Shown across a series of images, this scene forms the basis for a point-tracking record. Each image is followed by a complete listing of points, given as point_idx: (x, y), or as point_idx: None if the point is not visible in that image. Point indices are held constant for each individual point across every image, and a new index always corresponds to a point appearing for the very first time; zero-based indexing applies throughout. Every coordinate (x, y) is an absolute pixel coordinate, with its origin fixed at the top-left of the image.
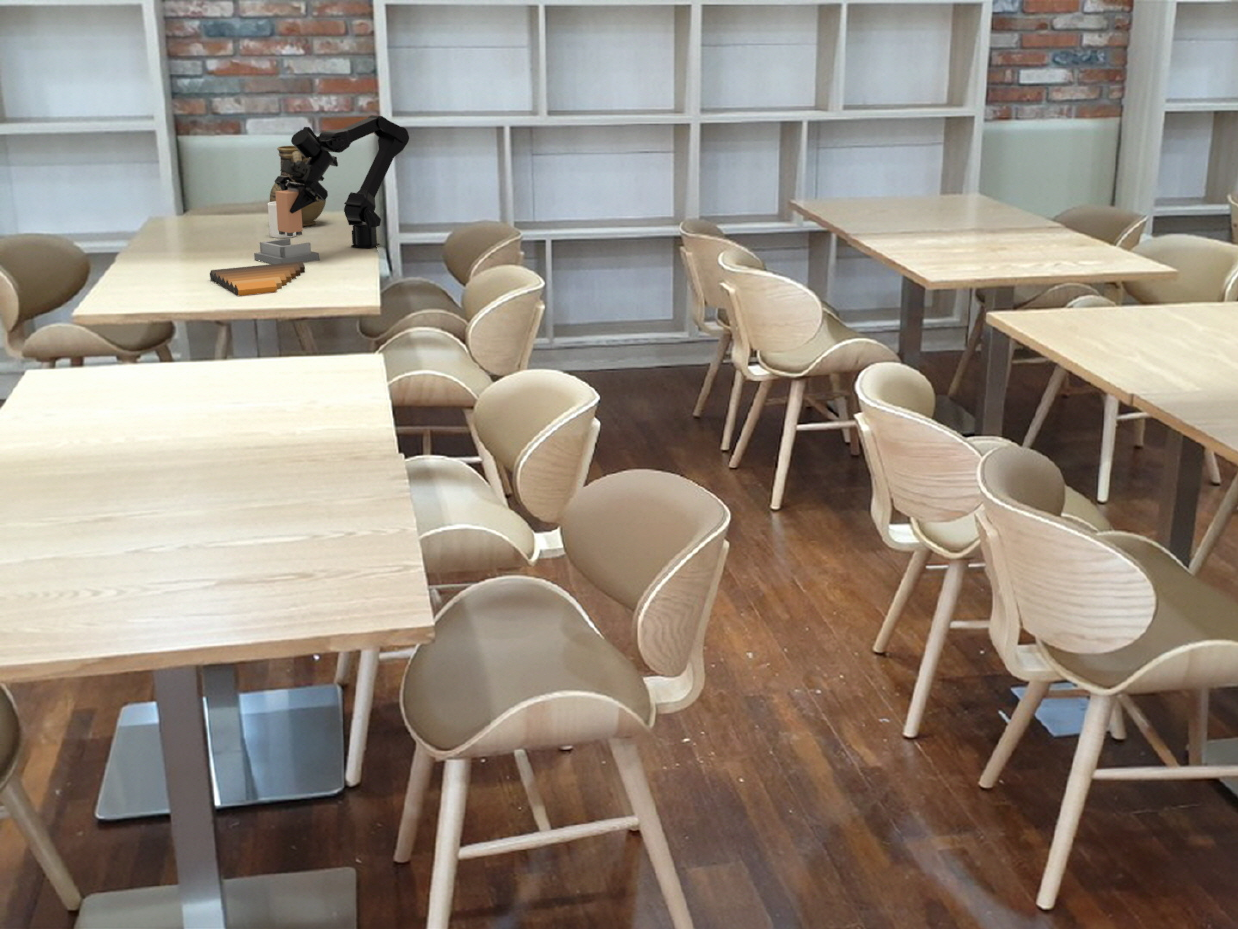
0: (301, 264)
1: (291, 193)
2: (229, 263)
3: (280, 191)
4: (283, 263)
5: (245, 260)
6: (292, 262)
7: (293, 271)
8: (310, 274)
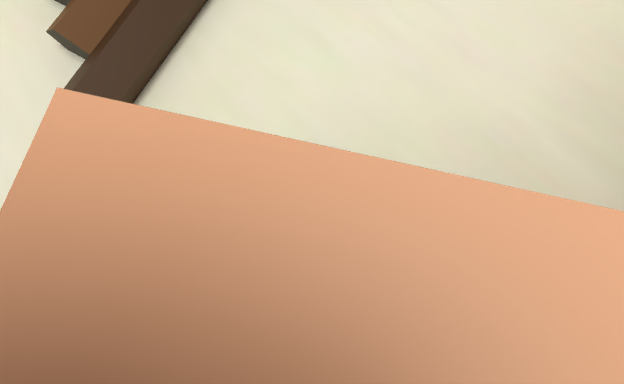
0: (74, 80)
1: (2, 251)
2: (562, 77)
3: (520, 327)
4: (129, 12)
5: (562, 179)
6: (102, 48)
7: None
8: (36, 81)
